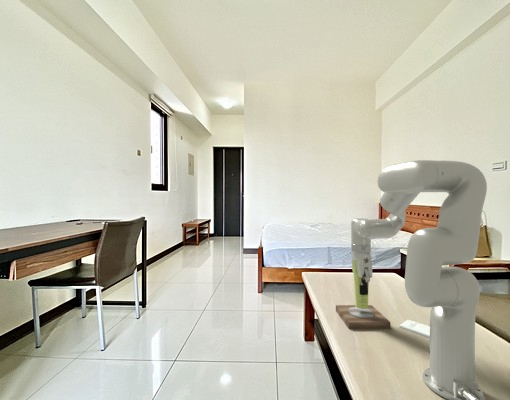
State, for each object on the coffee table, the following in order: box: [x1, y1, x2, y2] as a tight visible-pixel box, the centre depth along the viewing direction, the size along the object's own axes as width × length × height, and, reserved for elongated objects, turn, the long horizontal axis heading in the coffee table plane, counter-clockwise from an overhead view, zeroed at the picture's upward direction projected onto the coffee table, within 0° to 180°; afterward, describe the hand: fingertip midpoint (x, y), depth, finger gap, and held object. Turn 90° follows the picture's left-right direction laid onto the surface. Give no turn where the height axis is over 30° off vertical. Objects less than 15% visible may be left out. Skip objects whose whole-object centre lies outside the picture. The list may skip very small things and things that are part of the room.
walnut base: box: [335, 304, 391, 330], centre depth 108 cm, size 16×16×3 cm
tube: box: [351, 259, 370, 309], centre depth 107 cm, size 6×5×20 cm
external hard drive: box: [399, 319, 430, 339], centre depth 98 cm, size 2×8×12 cm
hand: (361, 291), depth 108 cm, fingers closed on tube, 4 cm apart
